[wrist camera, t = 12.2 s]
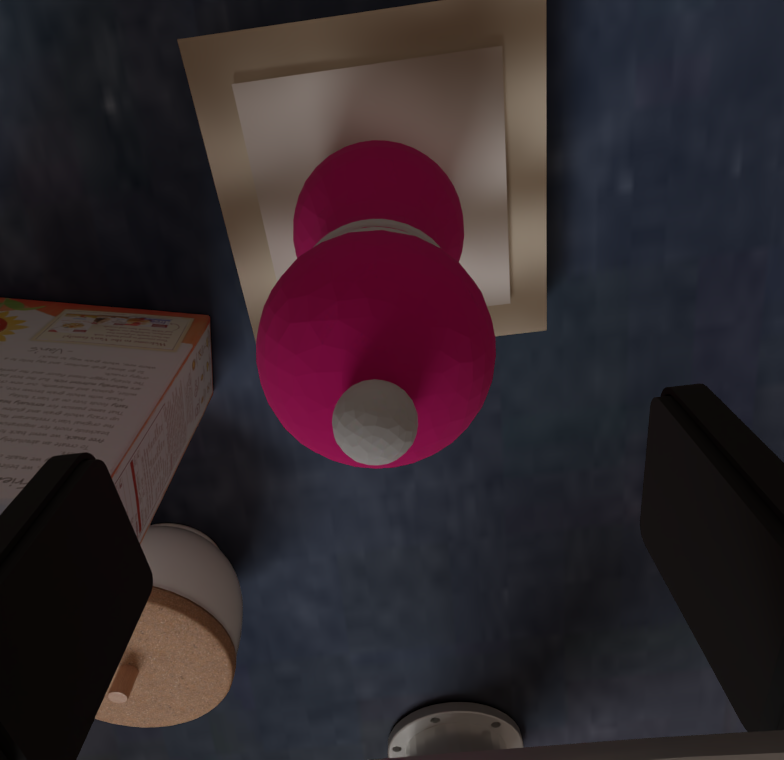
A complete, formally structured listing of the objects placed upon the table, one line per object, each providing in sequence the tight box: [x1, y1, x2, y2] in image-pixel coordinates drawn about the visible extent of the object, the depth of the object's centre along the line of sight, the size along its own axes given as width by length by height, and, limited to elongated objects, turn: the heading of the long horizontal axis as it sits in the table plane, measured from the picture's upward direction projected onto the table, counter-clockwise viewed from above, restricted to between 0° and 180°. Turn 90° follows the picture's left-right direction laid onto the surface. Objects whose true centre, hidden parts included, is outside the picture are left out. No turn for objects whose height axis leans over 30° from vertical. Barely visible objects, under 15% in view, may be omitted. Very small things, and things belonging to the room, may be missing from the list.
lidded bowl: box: [95, 523, 243, 727], centre depth 40 cm, size 13×13×11 cm
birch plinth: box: [177, 0, 547, 341], centre depth 30 cm, size 16×16×3 cm
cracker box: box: [0, 297, 213, 544], centre depth 27 cm, size 14×6×21 cm, turn 84°
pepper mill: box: [256, 140, 496, 468], centre depth 20 cm, size 7×7×20 cm
